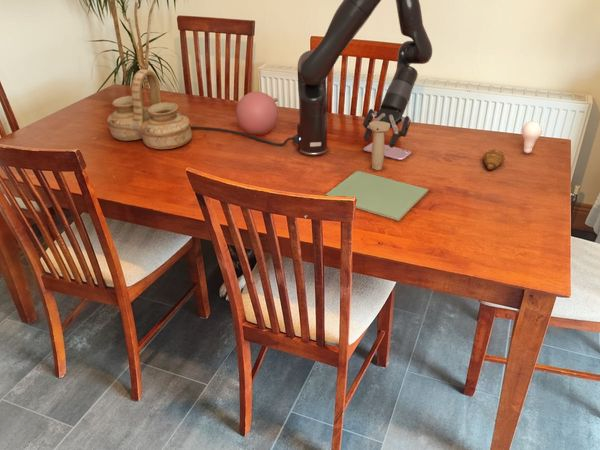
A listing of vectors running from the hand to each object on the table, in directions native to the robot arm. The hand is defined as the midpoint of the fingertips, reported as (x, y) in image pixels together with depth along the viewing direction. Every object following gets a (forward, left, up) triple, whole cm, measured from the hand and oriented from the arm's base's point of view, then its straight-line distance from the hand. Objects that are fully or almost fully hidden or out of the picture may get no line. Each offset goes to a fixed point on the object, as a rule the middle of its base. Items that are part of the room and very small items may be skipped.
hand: (378, 143), depth 172 cm
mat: (+8, -16, -9) cm, 20 cm away
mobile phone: (-3, +13, -9) cm, 16 cm away
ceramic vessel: (-82, -21, -9) cm, 85 cm away
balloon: (-51, +6, -9) cm, 52 cm away
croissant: (+30, +23, -9) cm, 39 cm away
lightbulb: (+37, +37, -9) cm, 53 cm away
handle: (0, 0, -9) cm, 9 cm away
